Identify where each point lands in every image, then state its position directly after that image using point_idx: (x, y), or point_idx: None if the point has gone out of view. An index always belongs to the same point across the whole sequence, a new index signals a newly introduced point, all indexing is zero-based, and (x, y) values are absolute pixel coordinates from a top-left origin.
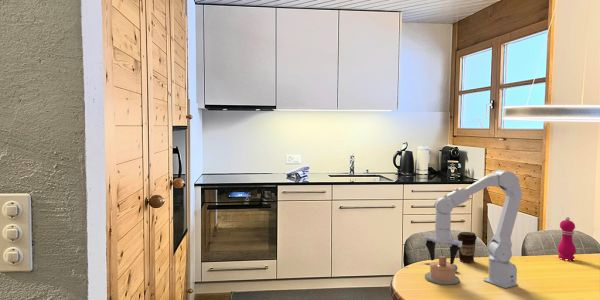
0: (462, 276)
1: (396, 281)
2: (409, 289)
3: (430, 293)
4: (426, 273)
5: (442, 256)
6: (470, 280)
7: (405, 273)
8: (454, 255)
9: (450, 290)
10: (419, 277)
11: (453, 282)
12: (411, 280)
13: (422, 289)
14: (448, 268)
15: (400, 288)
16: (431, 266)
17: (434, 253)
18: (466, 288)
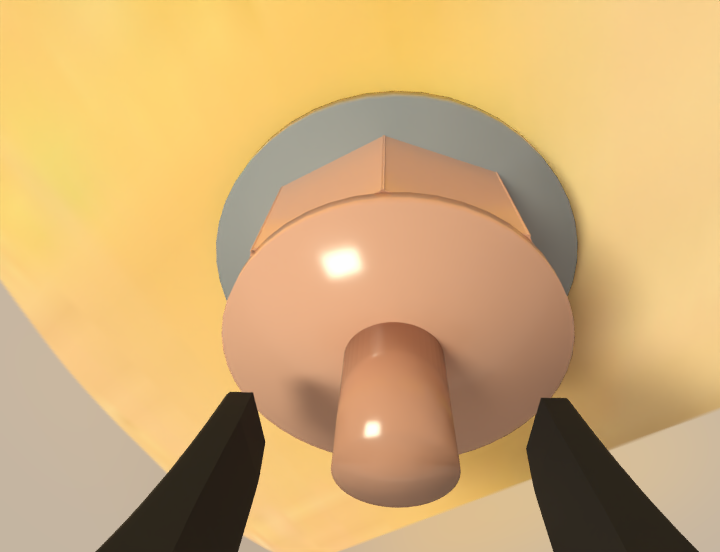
0: (598, 5)
1: (164, 470)
2: (298, 517)
3: (419, 511)
4: (222, 276)
5: (380, 454)
6: (706, 107)
7: (71, 324)
8: (640, 533)
9: (520, 434)
10: (217, 340)
11: None
12: None
13: None
14: (494, 418)
15: (254, 525)
16: (295, 431)
17: (217, 472)
18: (642, 349)
